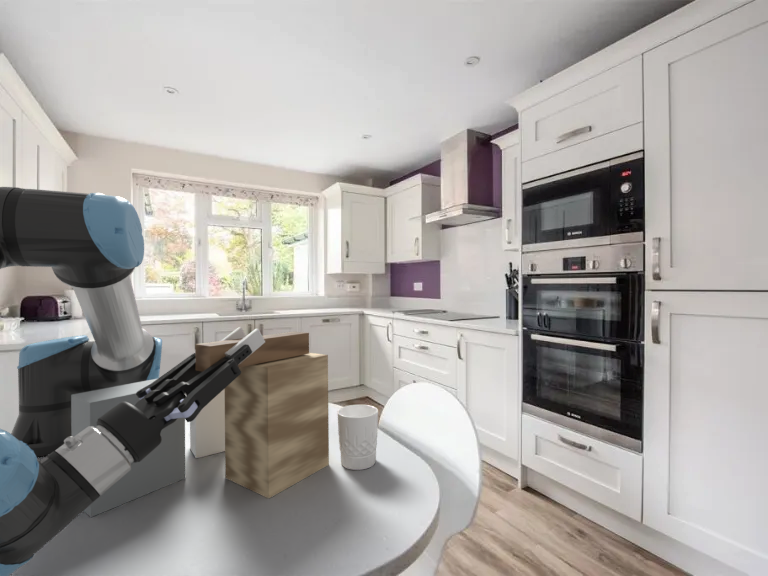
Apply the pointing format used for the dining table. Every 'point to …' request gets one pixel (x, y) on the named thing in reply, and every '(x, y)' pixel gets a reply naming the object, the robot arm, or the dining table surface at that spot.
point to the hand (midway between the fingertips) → (251, 334)
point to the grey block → (144, 475)
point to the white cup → (358, 436)
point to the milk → (209, 428)
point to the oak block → (277, 423)
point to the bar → (269, 351)
